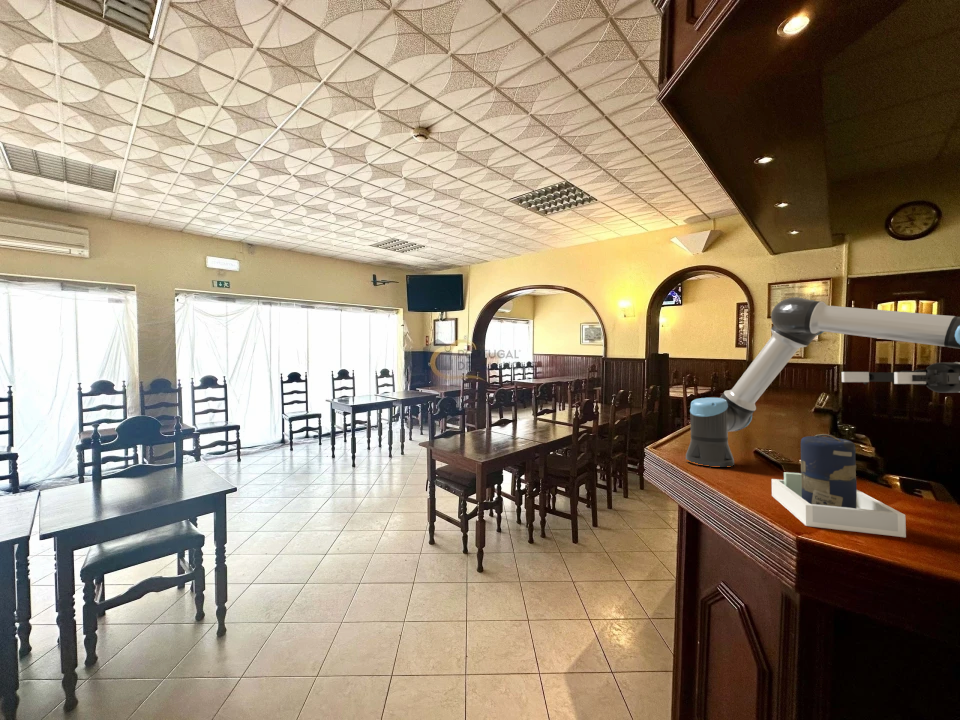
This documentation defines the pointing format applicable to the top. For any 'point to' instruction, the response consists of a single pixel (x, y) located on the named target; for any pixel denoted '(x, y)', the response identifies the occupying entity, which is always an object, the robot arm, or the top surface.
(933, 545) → the top surface
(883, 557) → the top surface
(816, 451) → the dark blue canister
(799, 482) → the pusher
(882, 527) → the white tray
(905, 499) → the top surface
